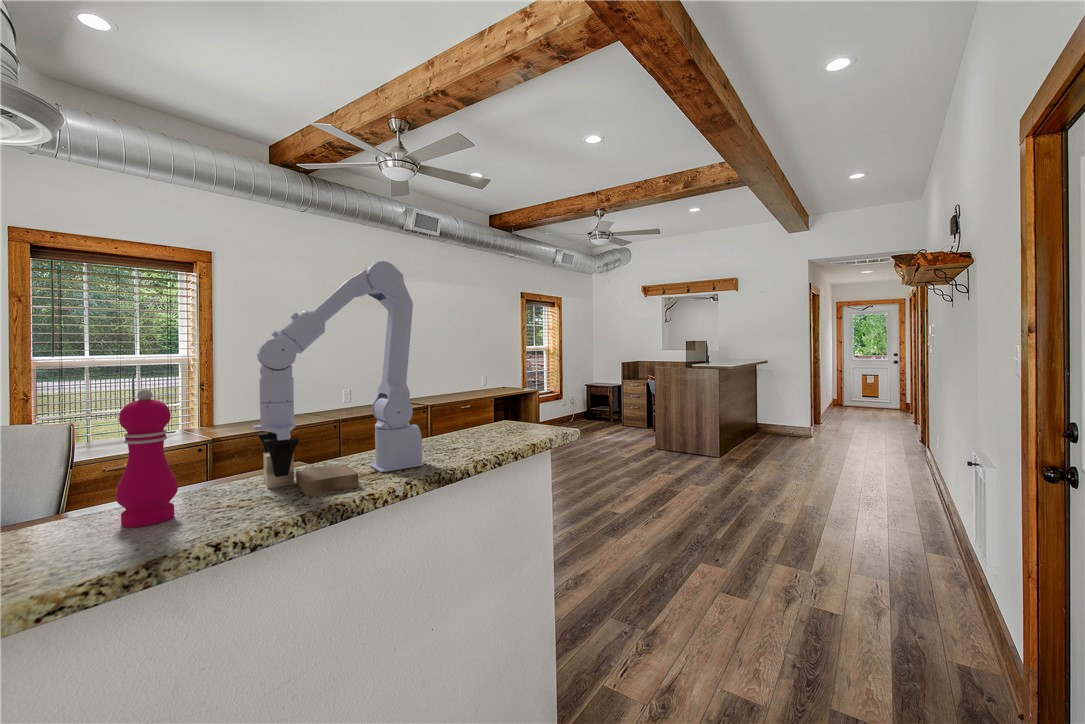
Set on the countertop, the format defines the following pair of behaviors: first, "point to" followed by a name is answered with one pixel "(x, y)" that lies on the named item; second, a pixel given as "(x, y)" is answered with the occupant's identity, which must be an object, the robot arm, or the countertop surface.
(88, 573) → the countertop surface
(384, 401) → the robot arm
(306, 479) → the walnut block
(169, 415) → the pepper mill
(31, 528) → the countertop surface
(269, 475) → the ash block
